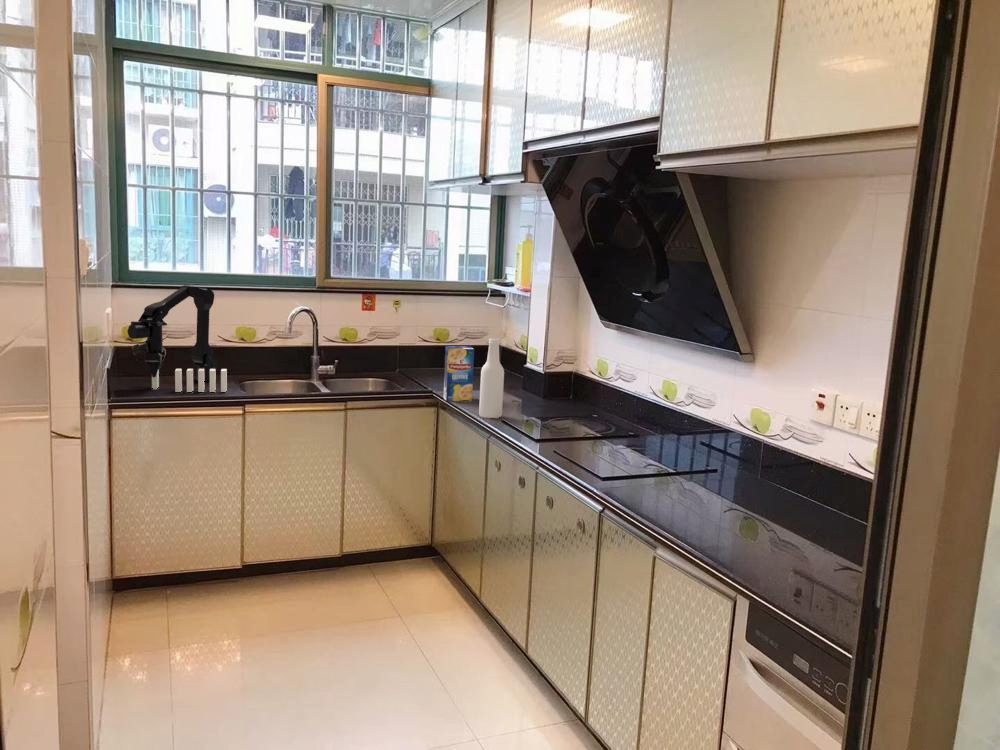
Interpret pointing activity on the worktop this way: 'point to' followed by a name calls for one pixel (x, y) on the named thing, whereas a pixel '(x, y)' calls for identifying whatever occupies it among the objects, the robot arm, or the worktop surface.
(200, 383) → the domino
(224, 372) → the domino
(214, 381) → the domino
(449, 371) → the blue food box
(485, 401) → the alcohol
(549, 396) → the worktop surface
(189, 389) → the domino
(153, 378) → the domino
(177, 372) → the domino
